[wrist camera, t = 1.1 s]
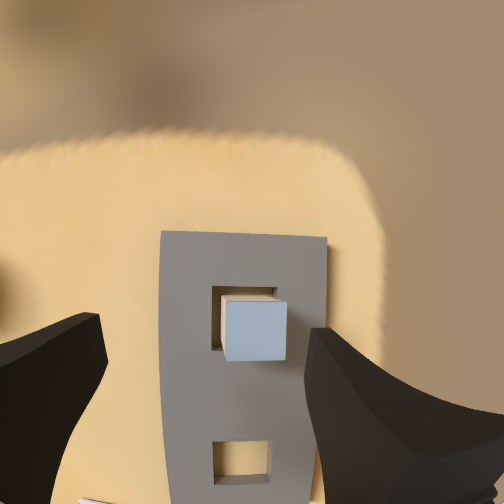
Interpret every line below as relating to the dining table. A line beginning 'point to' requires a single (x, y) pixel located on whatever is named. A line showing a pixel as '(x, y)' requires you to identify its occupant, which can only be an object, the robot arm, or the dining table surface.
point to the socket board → (236, 365)
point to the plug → (253, 328)
